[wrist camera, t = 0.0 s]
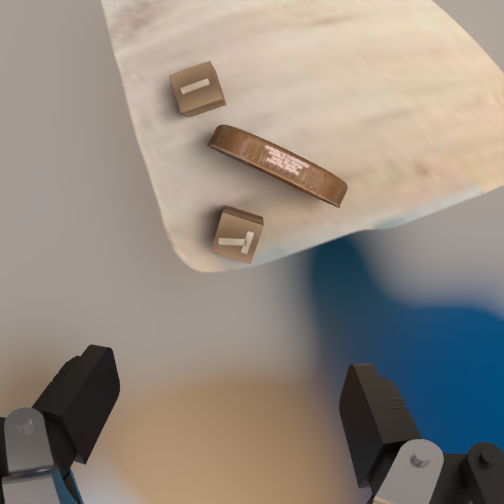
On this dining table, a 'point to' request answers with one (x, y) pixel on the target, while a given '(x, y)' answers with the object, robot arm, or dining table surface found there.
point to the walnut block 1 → (197, 89)
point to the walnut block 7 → (237, 234)
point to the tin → (279, 163)
